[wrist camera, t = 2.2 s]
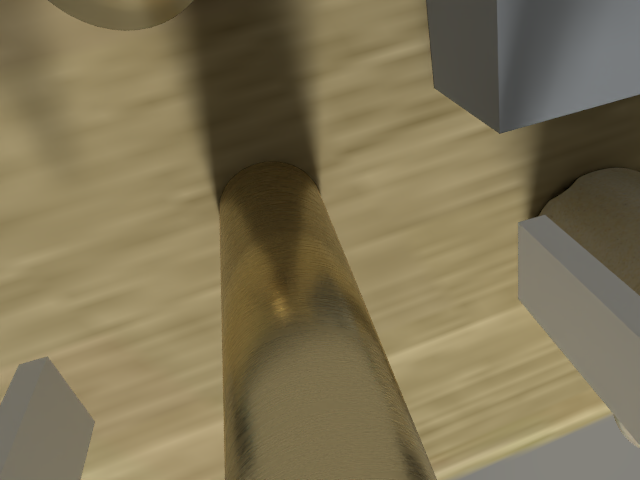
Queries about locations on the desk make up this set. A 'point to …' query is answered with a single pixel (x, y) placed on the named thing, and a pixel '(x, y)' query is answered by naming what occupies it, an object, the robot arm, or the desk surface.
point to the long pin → (302, 345)
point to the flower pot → (604, 224)
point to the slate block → (534, 56)
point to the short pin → (123, 12)
